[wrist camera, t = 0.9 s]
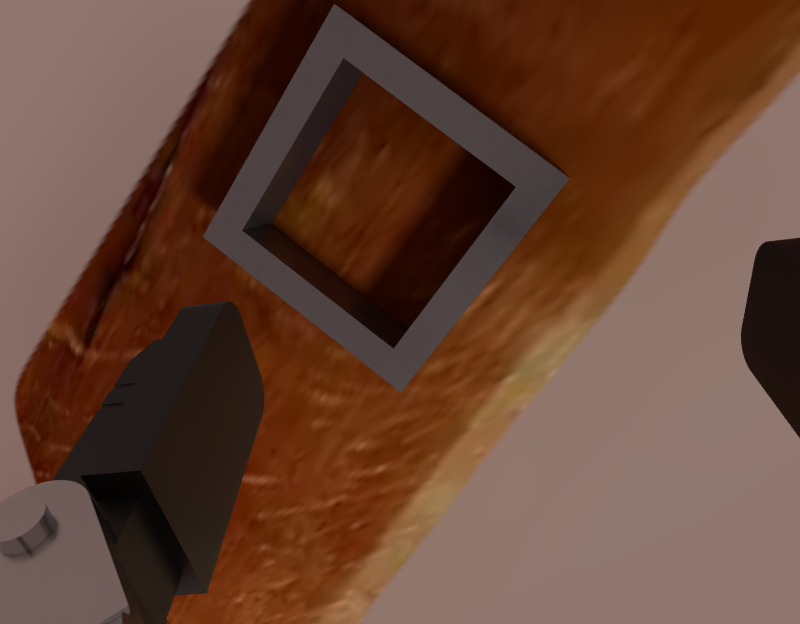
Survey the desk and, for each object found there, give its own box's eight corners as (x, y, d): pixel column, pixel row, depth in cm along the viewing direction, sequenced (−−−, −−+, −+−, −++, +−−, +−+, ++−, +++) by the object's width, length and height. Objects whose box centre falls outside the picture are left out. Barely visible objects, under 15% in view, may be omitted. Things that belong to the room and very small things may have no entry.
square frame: (234, 229, 32) (203, 236, 29) (357, 19, 28) (334, 3, 25) (416, 371, 31) (401, 392, 28) (569, 176, 27) (569, 178, 24)
